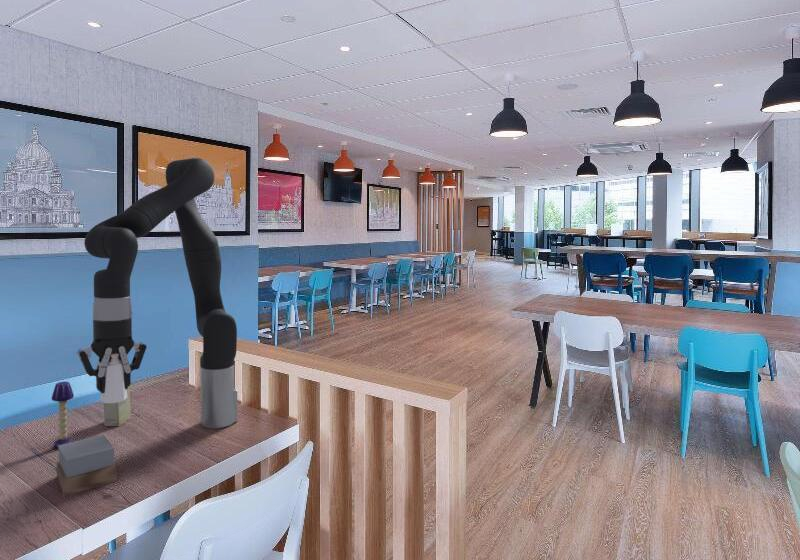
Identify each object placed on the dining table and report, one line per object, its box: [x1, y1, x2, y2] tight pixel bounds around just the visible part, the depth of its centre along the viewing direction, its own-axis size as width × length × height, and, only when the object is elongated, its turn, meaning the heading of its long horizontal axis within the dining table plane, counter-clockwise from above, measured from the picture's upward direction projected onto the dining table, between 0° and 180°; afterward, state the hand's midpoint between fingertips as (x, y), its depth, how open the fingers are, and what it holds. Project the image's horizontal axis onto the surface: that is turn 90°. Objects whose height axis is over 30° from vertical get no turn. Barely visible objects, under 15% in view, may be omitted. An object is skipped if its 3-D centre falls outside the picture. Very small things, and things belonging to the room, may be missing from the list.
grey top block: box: [57, 434, 116, 478], centre depth 111 cm, size 9×9×4 cm
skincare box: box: [103, 385, 132, 427], centre depth 141 cm, size 6×4×12 cm
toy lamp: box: [51, 381, 74, 450], centre depth 126 cm, size 5×5×17 cm
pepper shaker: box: [99, 354, 127, 404], centre depth 112 cm, size 5×5×11 cm
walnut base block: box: [56, 461, 118, 497], centre depth 111 cm, size 10×10×4 cm
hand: (113, 389), depth 112 cm, fingers closed on pepper shaker, 4 cm apart
